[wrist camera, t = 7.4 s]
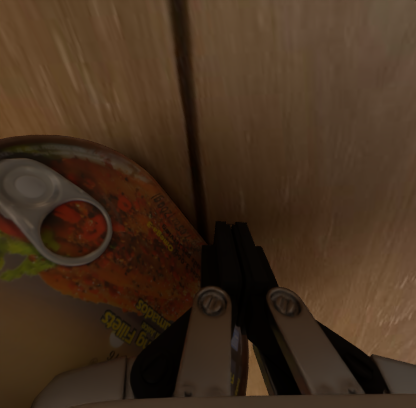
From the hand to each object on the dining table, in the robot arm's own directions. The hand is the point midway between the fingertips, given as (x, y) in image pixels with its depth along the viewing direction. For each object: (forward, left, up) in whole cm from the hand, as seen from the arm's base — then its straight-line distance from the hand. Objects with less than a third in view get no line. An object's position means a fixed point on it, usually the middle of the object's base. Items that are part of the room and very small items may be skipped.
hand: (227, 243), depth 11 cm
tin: (+3, 0, -1) cm, 3 cm away
